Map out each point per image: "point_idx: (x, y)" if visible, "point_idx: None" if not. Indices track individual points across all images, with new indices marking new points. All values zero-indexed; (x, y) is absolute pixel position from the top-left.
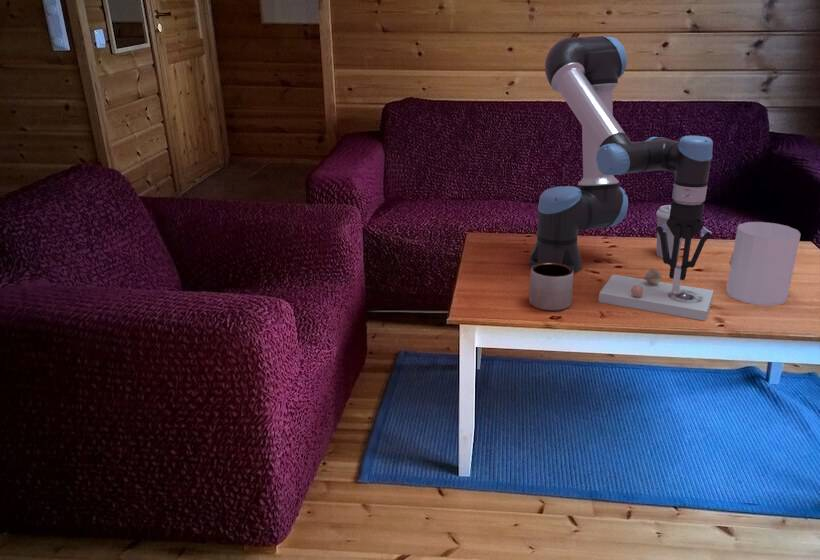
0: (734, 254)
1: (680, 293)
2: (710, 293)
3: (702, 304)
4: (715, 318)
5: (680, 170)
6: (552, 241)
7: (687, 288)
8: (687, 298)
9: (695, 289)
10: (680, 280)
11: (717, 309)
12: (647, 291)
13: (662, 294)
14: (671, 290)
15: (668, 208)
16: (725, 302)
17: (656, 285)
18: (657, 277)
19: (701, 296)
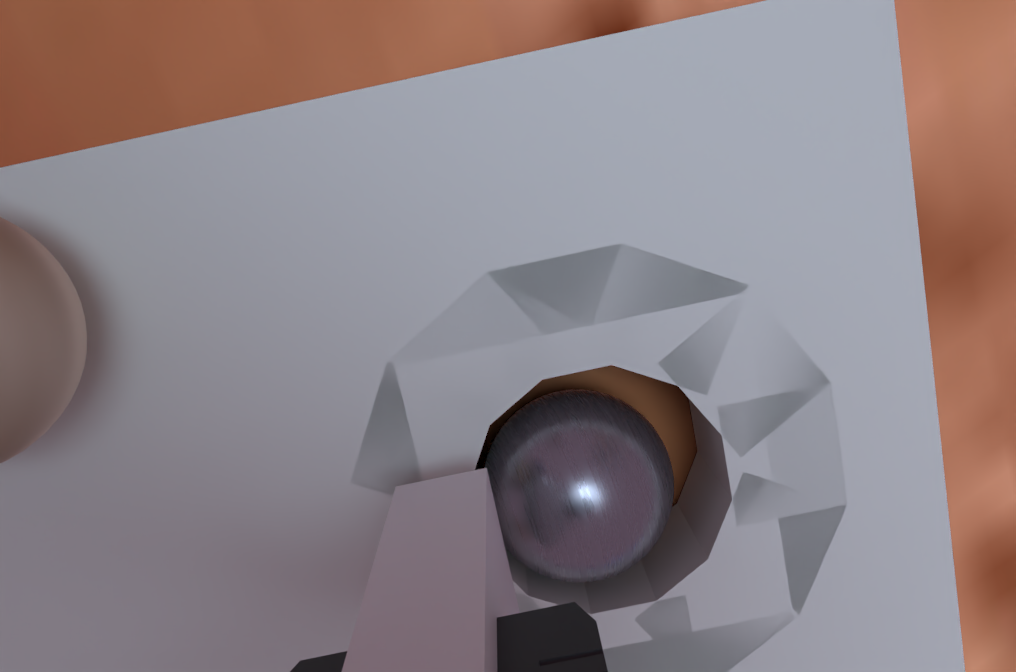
0: None
1: (542, 547)
2: (877, 148)
3: (876, 613)
4: (989, 575)
5: None
6: None
7: (519, 159)
8: (652, 546)
9: (635, 121)
10: (488, 547)
11: (957, 309)
12: (112, 639)
13: (322, 615)
14: (358, 396)
15: None
16: (1001, 3)
17: (93, 343)
18: (26, 427)
19: (793, 352)
